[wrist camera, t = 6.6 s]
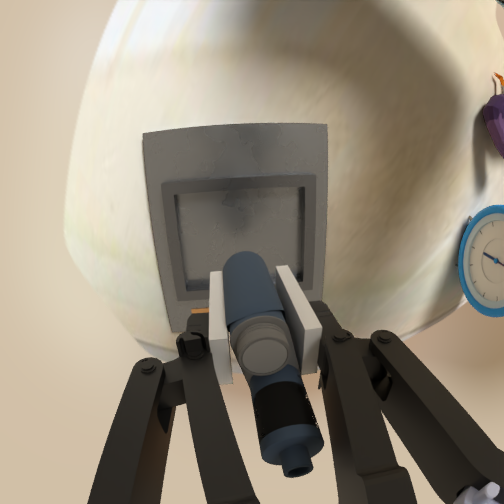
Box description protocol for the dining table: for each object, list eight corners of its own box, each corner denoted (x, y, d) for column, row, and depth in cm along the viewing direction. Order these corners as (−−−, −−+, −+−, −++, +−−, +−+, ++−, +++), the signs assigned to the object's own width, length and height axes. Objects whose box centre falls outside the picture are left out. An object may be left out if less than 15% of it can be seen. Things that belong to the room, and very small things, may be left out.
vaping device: (241, 323, 19) (270, 489, 8) (217, 254, 17) (224, 429, 6) (278, 312, 19) (335, 471, 8) (258, 241, 17) (325, 402, 6)
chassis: (144, 133, 23) (139, 133, 21) (324, 124, 24) (332, 123, 22) (173, 327, 30) (170, 338, 28) (317, 314, 31) (323, 324, 30)
